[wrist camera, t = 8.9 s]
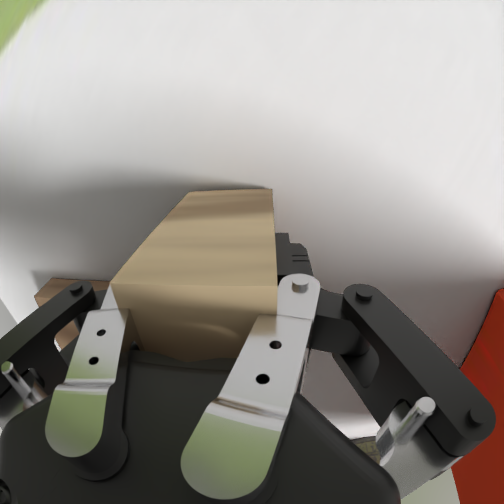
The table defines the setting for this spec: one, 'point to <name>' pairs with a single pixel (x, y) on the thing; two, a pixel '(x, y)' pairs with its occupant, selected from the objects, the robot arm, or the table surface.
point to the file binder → (500, 397)
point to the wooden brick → (203, 275)
